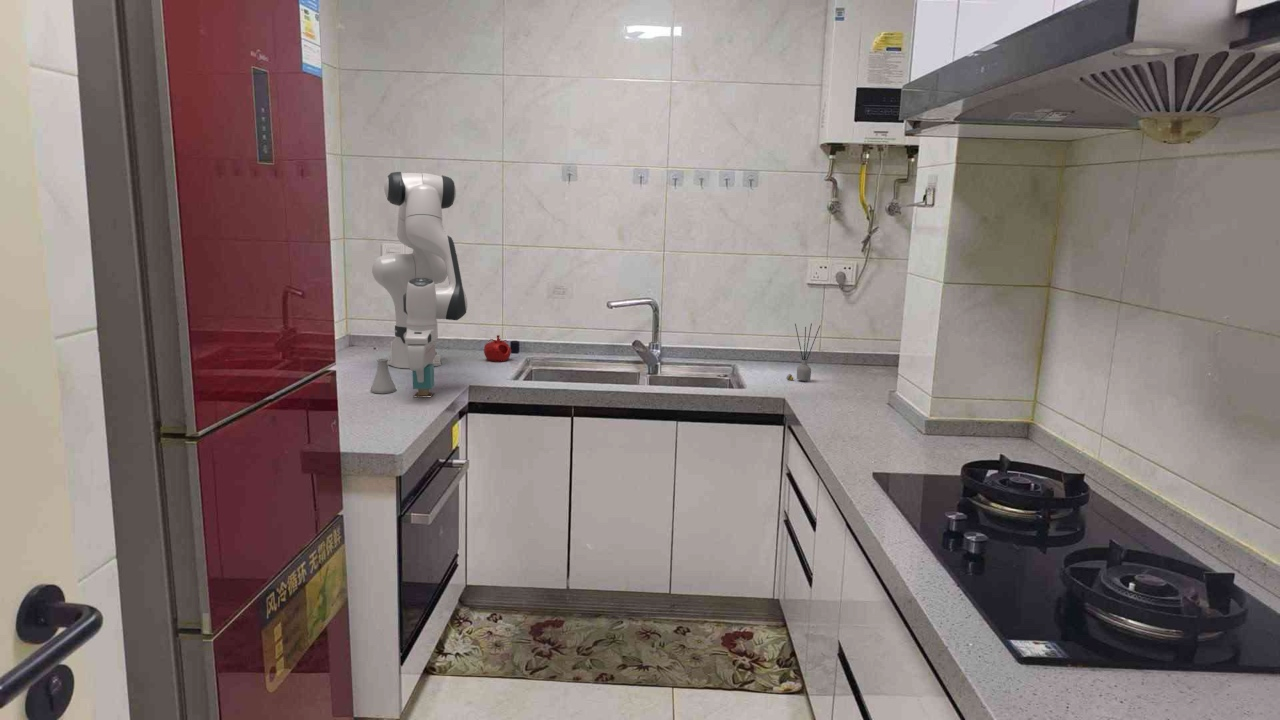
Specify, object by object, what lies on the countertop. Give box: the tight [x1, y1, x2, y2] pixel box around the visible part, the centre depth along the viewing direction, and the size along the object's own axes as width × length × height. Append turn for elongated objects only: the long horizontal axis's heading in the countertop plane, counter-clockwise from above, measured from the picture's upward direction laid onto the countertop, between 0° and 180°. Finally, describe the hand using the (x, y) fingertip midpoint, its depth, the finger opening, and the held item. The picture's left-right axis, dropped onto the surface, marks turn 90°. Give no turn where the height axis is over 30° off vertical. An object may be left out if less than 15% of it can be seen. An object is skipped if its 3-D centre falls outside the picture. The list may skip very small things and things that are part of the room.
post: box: [413, 389, 435, 398], centre depth 248 cm, size 5×5×7 cm
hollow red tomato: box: [483, 334, 512, 362], centre depth 306 cm, size 10×10×9 cm
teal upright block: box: [411, 364, 435, 390], centre depth 248 cm, size 5×5×7 cm
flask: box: [369, 357, 397, 395], centre depth 252 cm, size 7×7×10 cm
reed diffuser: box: [786, 322, 821, 381], centre depth 281 cm, size 10×7×20 cm
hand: (423, 379), depth 248 cm, fingers closed on teal upright block, 5 cm apart
